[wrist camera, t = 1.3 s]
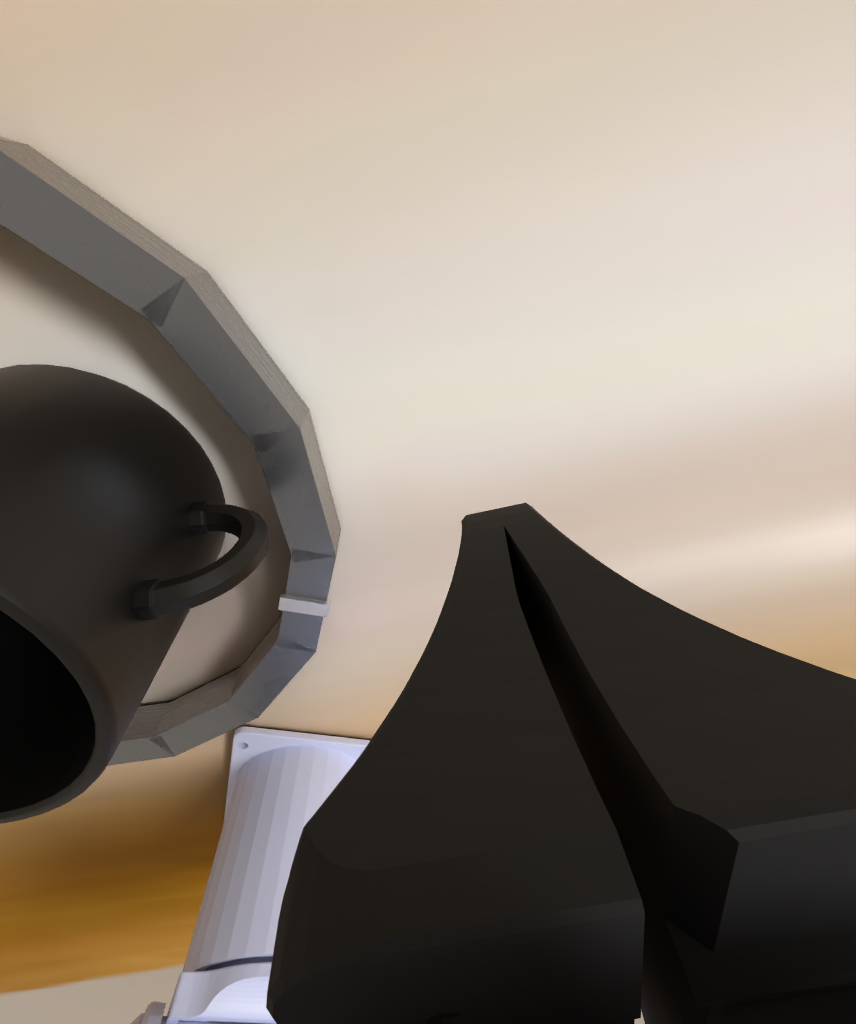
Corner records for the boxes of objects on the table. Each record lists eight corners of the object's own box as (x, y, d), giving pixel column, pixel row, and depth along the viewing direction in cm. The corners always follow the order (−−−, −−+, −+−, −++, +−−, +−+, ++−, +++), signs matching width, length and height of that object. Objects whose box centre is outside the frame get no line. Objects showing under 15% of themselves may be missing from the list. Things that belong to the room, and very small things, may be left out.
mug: (322, 574, 20) (277, 796, 12) (30, 607, 20) (-197, 849, 12) (260, 335, 15) (124, 454, 8) (-124, 378, 15) (-652, 540, 8)
